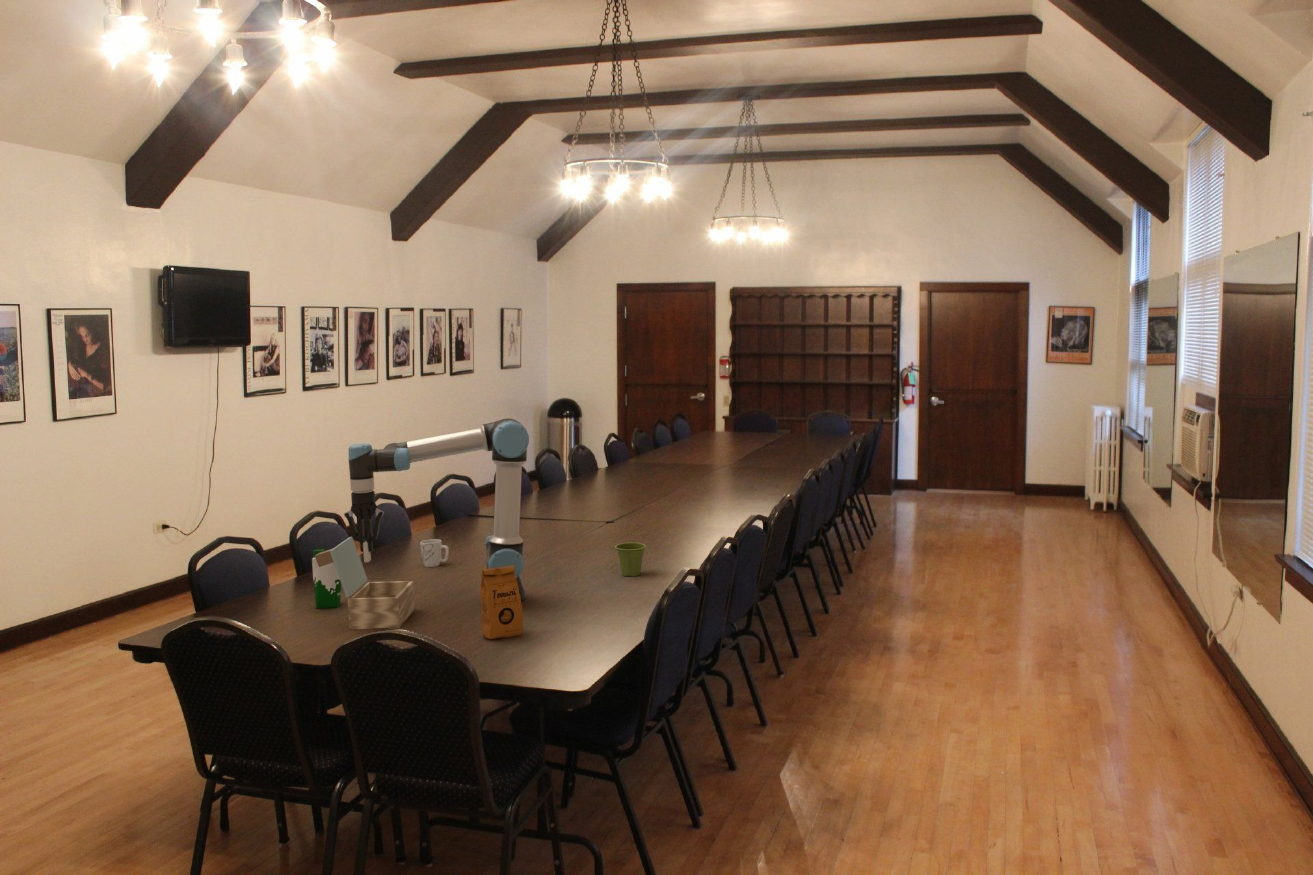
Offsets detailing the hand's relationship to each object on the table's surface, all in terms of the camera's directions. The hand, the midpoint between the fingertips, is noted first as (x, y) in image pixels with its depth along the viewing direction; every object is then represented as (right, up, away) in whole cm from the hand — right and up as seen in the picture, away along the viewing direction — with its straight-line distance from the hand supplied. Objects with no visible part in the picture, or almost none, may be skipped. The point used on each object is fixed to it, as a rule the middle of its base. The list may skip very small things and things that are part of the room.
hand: (367, 561), depth 347 cm
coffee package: (+48, -21, -19) cm, 55 cm away
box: (+5, -20, +2) cm, 20 cm away
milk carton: (-19, -18, +20) cm, 33 cm away
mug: (+6, -11, +78) cm, 79 cm away
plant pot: (+86, -12, +56) cm, 103 cm away
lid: (-6, -2, 0) cm, 6 cm away
